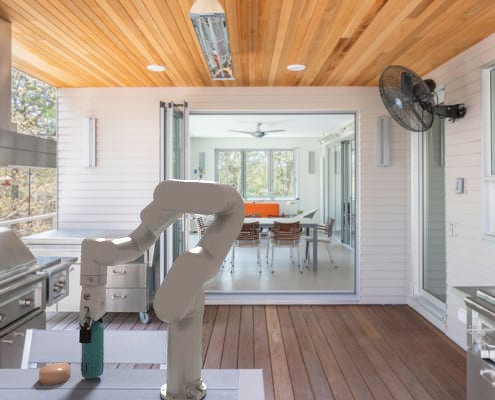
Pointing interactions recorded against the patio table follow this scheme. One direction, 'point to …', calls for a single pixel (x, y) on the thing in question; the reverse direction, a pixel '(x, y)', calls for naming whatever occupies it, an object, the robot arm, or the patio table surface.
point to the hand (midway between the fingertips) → (91, 336)
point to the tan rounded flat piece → (54, 373)
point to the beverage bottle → (93, 352)
